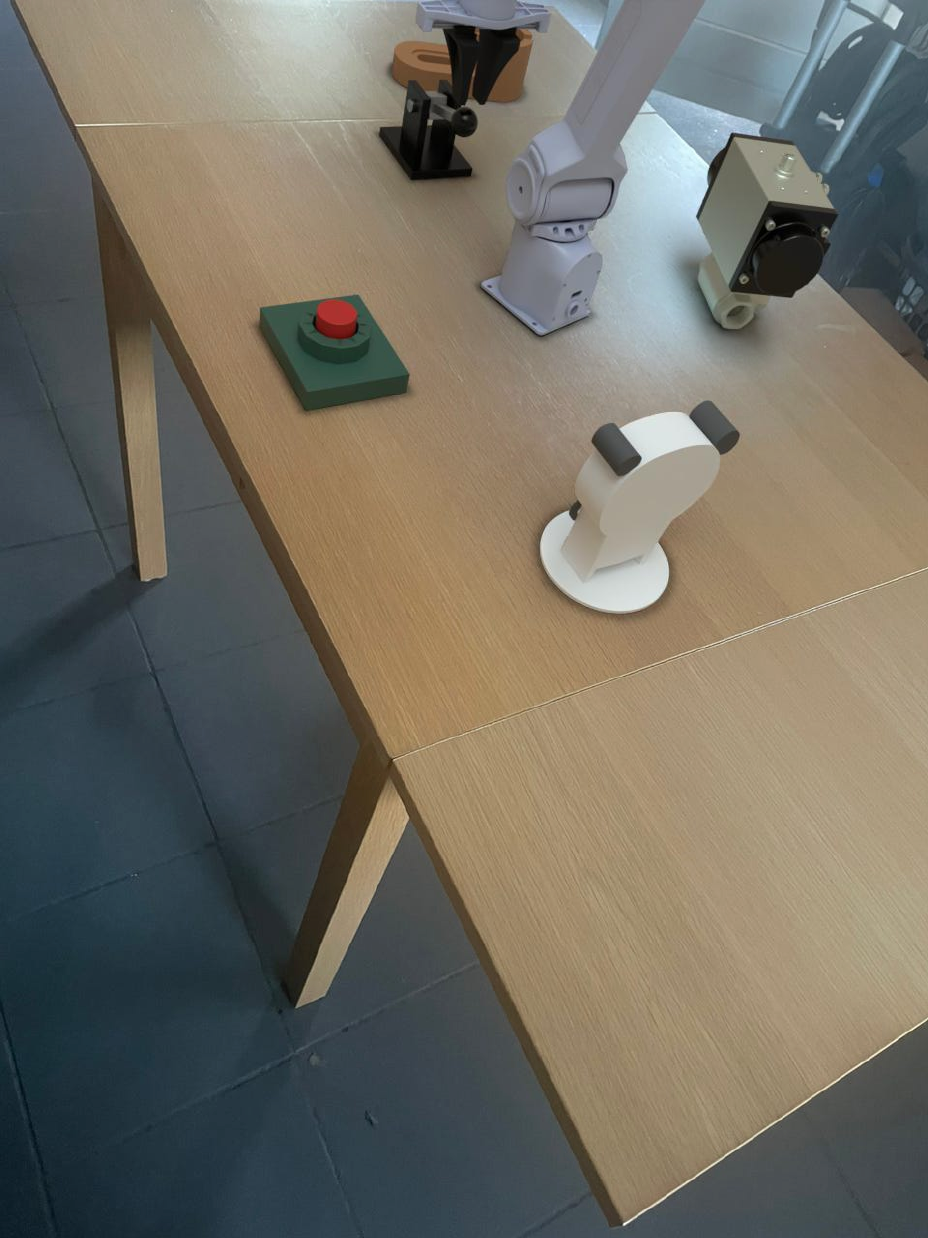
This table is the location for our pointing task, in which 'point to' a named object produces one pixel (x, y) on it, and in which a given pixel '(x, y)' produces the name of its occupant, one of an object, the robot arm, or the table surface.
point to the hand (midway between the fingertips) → (468, 100)
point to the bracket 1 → (434, 65)
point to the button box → (332, 355)
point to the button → (336, 319)
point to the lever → (452, 115)
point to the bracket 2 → (425, 138)
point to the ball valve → (760, 226)
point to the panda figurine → (633, 506)
